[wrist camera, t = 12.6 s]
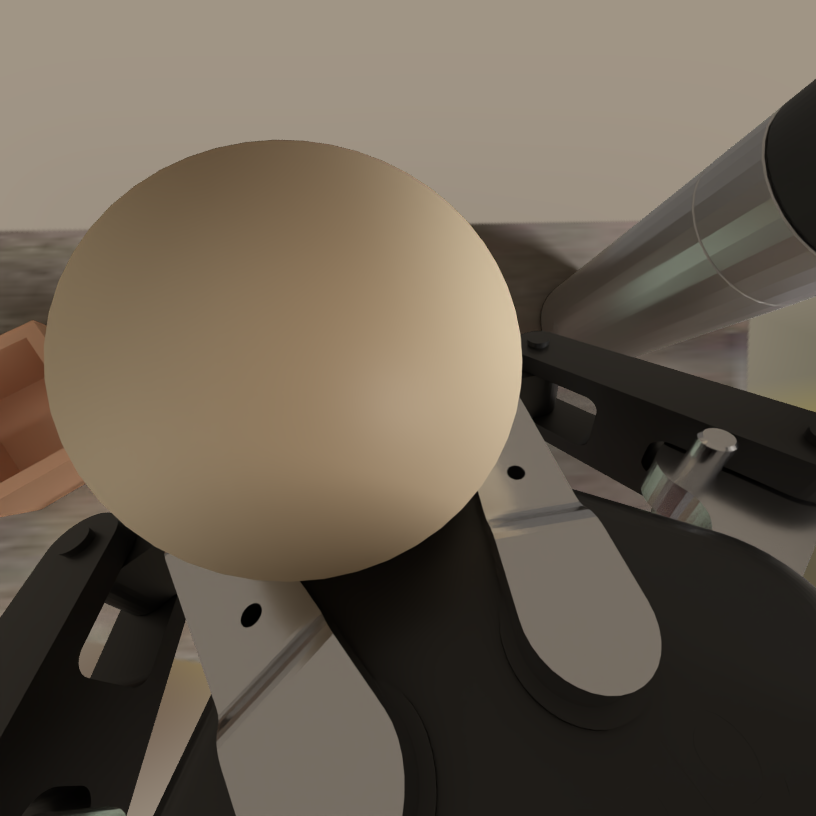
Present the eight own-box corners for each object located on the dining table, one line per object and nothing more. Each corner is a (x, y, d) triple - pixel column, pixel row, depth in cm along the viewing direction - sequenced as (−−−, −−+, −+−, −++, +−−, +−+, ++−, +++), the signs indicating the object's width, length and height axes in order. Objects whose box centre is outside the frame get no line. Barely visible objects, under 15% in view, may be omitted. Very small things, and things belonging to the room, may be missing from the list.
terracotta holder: (98, 346, 24) (33, 320, 19) (160, 439, 24) (110, 436, 19) (-26, 408, 22) (-133, 396, 17) (41, 509, 22) (-48, 526, 17)
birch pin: (357, 373, 19) (373, 84, 4) (404, 442, 19) (596, 402, 4) (282, 419, 18) (-64, 255, 3) (332, 494, 18) (227, 701, 3)
